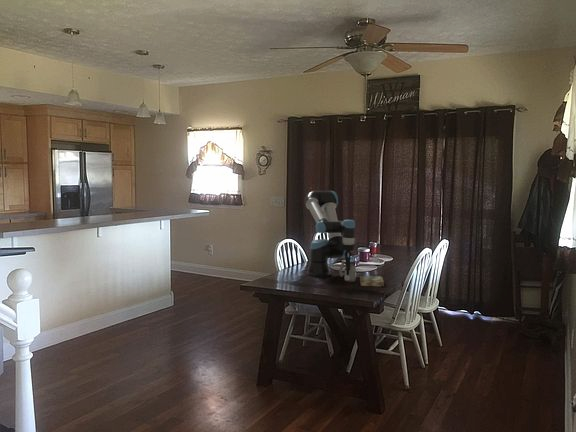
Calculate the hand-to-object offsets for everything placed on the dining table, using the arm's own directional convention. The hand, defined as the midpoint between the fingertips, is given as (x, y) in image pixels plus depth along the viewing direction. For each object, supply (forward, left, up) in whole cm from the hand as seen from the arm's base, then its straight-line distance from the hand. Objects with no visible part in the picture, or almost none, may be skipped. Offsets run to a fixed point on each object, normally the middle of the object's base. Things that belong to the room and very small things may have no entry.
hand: (347, 278), depth 309 cm
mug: (0, 0, -1) cm, 1 cm away
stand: (+15, -7, -1) cm, 17 cm away
